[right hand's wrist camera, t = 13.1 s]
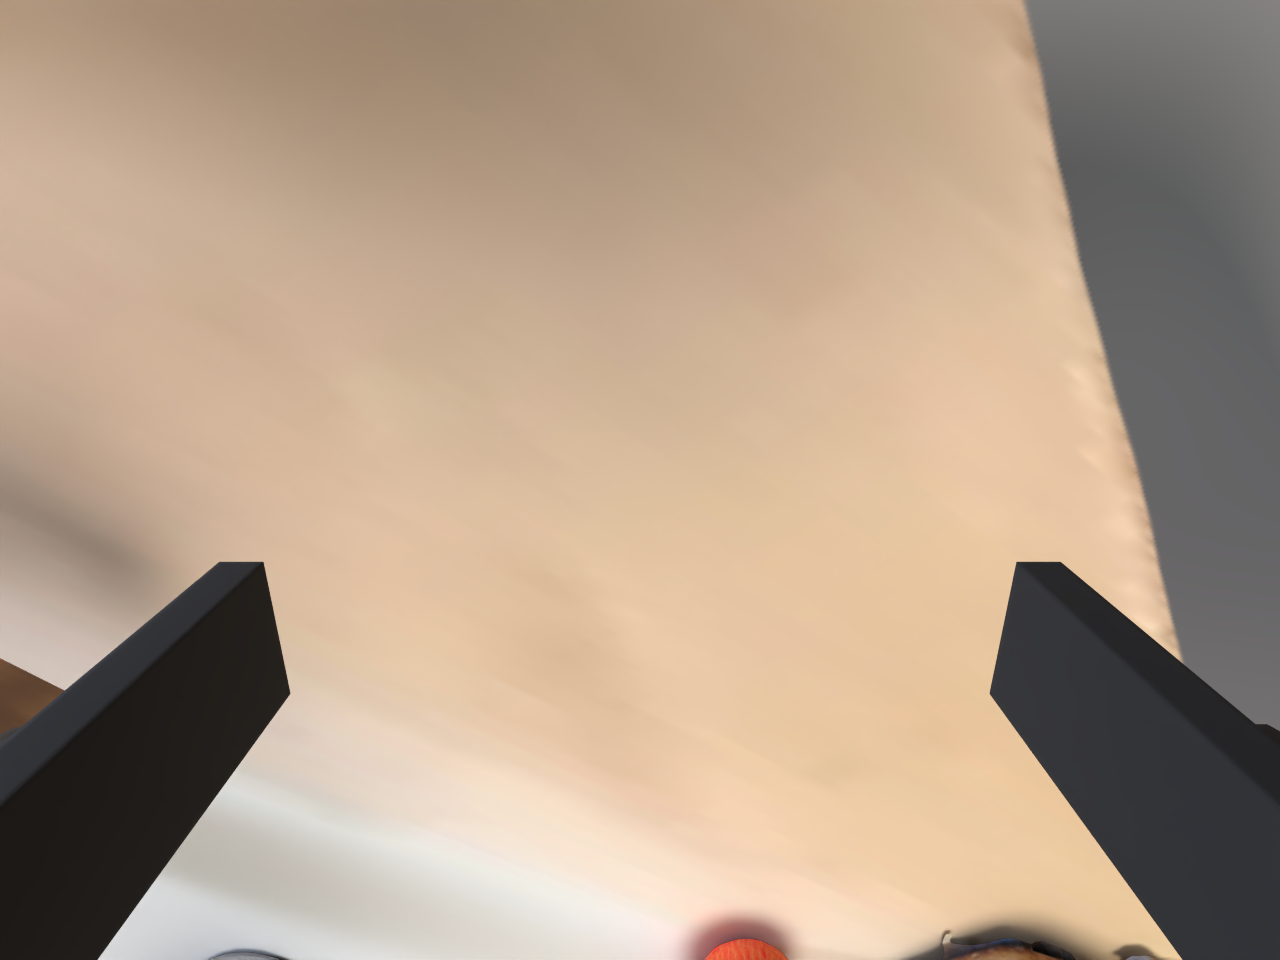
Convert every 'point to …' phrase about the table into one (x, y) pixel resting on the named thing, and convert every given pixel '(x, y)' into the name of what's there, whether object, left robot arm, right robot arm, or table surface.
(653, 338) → the table surface
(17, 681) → the bar
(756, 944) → the apple
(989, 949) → the bread
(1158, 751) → the right robot arm
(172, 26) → the table surface
